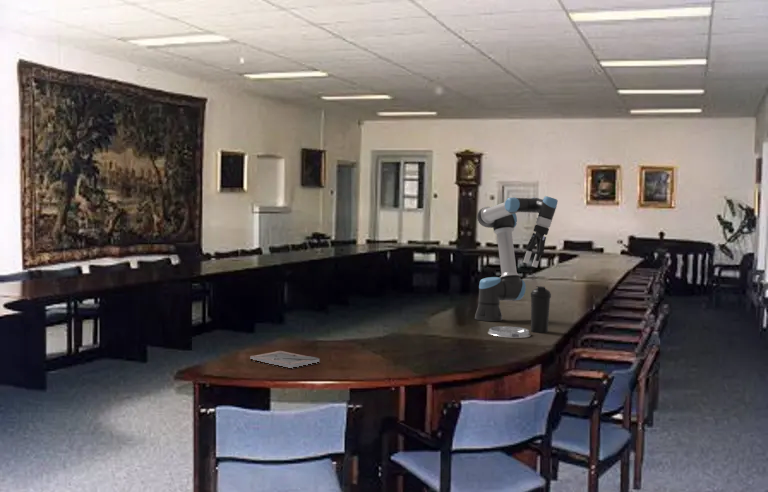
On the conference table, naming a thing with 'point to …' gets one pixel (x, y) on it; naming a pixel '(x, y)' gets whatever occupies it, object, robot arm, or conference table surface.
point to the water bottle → (540, 309)
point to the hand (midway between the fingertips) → (529, 264)
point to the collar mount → (509, 332)
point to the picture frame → (285, 359)
